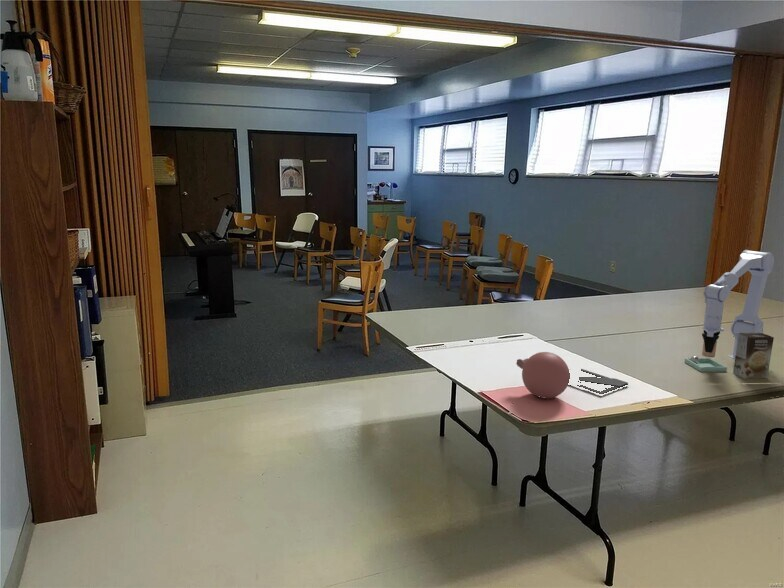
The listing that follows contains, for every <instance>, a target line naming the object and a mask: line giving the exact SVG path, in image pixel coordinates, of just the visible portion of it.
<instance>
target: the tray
mask: <svg viewBox="0 0 784 588" xmlns="http://www.w3.org/2000/svg"><path fill="white" fill-rule="evenodd" d="M690 358H691V357H685V358H684V363H685V364H687V365H688V366H690V367H692V368H694V369H695V370H697V371H699V372H703V373H704V372H705V373H708V372H711V373H712V372H715V373H716V372H727V371H728V367H727V366H726V365H724V364H722V363H720V362H718V361H717V360H714V359H712V357H698V358H699V363H698V364H696V363H694V362H692V361H690Z"/></svg>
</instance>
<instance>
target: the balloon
mask: <svg viewBox="0 0 784 588" xmlns="http://www.w3.org/2000/svg"><path fill="white" fill-rule="evenodd" d="M515 364H516V366H517V367H518V368H520V369H521V377H522V382H523V385H524V386H525V388H526V389H527V390H528V392H529V393H531V394H532V395H533V394H534V395H533V396H535V395H536V396H535V397H537V396H540V397H545V398H544V399H552V397H553V398H556V397H559V396H560V395H561V394H562V393H563V392H564V391H565V390H566V389H567V388H568V386H569V385H568V383H569V379H570V373H569V370H570V369H569V366H568V364H567V363H566V361H565V360H564V359H563V358H562V357H561V356H559V355H558V354H556V353H554V352H549V351H539V352H536V353H535V354H532V355H531V356H530V357H527V358H525V359H521V358H519V359H517V360H516V363H515ZM540 397H539V398H540Z"/></svg>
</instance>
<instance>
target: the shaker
mask: <svg viewBox="0 0 784 588" xmlns="http://www.w3.org/2000/svg"><path fill="white" fill-rule="evenodd" d="M717 343H718V341H716V342H715V345H714V348H713V351H712V353H709V352H705V344H704V341H703V343H702V349H701V350H702V352H701V356H703V357H704V358H715V357H716V352H717V351H716V350H717V345H718V344H717Z"/></svg>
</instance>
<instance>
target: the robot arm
mask: <svg viewBox="0 0 784 588" xmlns="http://www.w3.org/2000/svg"><path fill="white" fill-rule="evenodd" d="M774 263H775V257H774V255H773V253H772V252H763V251H756V250H755V251H754V250H749V249H744V250H743V251H742V252H741V254H739V258H738V262H737V263H736V265H735V266H734V267H733V269H731V270H730V272H729V271H727V272H724V273H723V274H722V275H721V276H720V277H719V278H718V279H717V280H716V281H715V282H714V283H713V284H709V285H707V286H705V288H704V291H703V297H704V303H705V308H704V309H705V310H704V320H703V326H702V329H703V332H702V333H701V336H702V338H703V342H704V344H705V352H709V353H712V351H713V348H714V345H715V342H716V341H717V340H719V338H720V336H719V335H720V334H721V332H725V328H724V327H722V319H723V312H724V303H725V301H727V300H728V298H729V295H730V294H731V290H733V289H734V287H736V286H737V284H739V281H740V280H739V278H740V277H742V276H743V275H744V274H745V273H747V272H750V274H751V277H750V282H749V286H748V290H747V292H746V293H747V294H746V299H745V302H744V306H743V310H742V313H740V314H738V315H736V316H734V318H733V319H734V320H733V321H732V323H731V325H730V333H731V334H732V335H733V337H734V344H733V350H732V354H727V357H729V358H731V359H732V360H735V356H736V349H737V343H738V336H739V333H763V334H764V323H765V322H764V321H763V320H762V319H761V318H760V317H759V316H758V315H759V312H760V308H761V303H762V299H763V295H764V291H765V287H766V284H767V280H768V275H770V274H772V271H773V267H774ZM717 342H718V341H717Z"/></svg>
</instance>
